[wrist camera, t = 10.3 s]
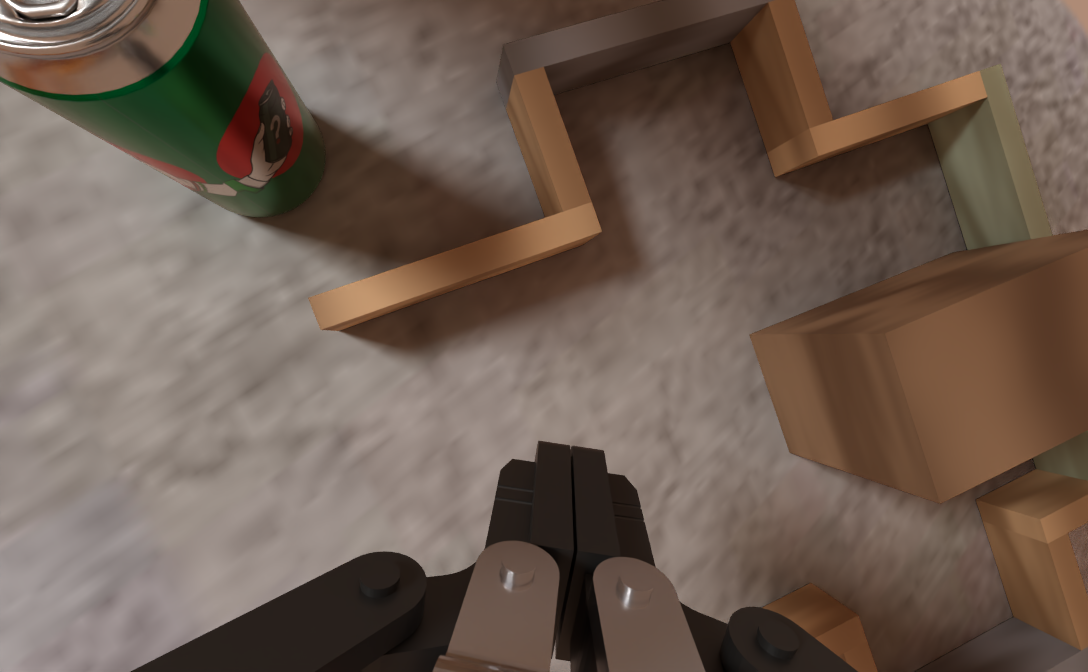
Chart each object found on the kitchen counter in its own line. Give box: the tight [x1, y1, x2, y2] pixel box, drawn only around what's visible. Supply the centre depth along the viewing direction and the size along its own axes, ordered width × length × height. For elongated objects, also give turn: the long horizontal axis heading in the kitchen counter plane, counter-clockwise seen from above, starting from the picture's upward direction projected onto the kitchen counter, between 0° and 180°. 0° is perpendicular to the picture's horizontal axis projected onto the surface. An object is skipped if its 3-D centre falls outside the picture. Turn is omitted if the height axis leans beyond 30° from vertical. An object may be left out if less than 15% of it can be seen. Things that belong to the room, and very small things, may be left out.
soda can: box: [0, 0, 325, 217], centre depth 15 cm, size 5×5×12 cm
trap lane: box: [308, 0, 1088, 672], centre depth 23 cm, size 31×34×3 cm
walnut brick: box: [750, 230, 1088, 504], centre depth 22 cm, size 12×6×8 cm, turn 110°
